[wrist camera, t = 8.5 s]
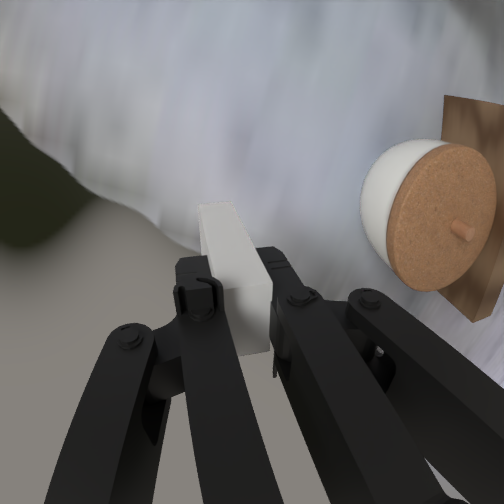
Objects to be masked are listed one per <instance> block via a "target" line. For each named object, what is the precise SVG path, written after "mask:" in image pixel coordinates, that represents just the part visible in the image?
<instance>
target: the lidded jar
mask: <svg viewBox="0 0 504 504" xmlns="http://www.w3.org/2000/svg"><path fill="white" fill-rule="evenodd" d="M496 203H497V193H496V183H495V179H494V175H493V172H492V170H491V167H490V165H489V164H488V162H487V161H486V159H485V158H484V157H483V156H482V154H481V153H479V152H478V151H476V150H475V149H473V148H470V147H467V146H464V145H461V144H452V143H449V142H445V141H441V140H434V139H413V140H408V141H404V142H402V143H399V144H397V145H394V146H392V147H391V148H389V149H388V150H386V151H385V152H384V153H383V154H382V155H380V156H379V157H378V158H377V160H376V161H375V162H374V163H373V164H372V166H371V168H370V169H369V171H368V173H367V175H366V177H365V179H364V182H363V185H362V189H361V195H360V216H361V221H362V225H363V228H364V231H365V233H366V236H367V238H368V240H369V242H370V243H371V245H372V246H373V248H374V250H375V251H376V253H377V254H378V255H379V256H380V258H381V259H382V260H383V261H384V262H385V263H386V264H387V265H388V266H389V267H390V268H391V269H392V270H393V271H394V272H395V274H396V275H397V276H398V277H399V278H400V279H401V281H402V282H404V283H405V284H406V285H407V286H409V287H410V288H412V289H414V290H417V291H424V292H428V291H436V290H438V289H441V288H444V287H446V286H448V285H450V284H451V283H453V282H454V281H456V280H457V279H458V278H459V277H461V276H462V275H463V274H464V273H465V272H466V271H467V270H468V269H469V268H470V266H471V265H472V264H473V263H474V261H475V260H476V259H477V257H478V256H479V254H480V252H481V251H482V249H483V247H484V245H485V243H486V241H487V239H488V236H489V234H490V231H491V228H492V225H493V222H494V217H495V211H496Z"/></svg>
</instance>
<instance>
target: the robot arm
mask: <svg viewBox="0 0 504 504" xmlns="http://www.w3.org/2000/svg"><path fill="white" fill-rule="evenodd" d="M198 214H199V227H200V240H201V252H202V256H193V257H185V258H180V259H179V261H178V263H177V264H176V266H175V270H176V285H175V287H174V290H173V295H174V300H175V306H176V312H177V315H176V317H175V318H174V319H173V320H172V321H171V322H170V323H168V324H167V325H165V326H163V327H161V328H158V329H155V330H153V331H152V330H151V329H150V328H149V327H147V326H146V325H143V324H139V323H130V324H125V325H122V326H119V327H118V328H116V329H115V330H113V331H112V332H111V334H110V335H109V336H108V338H107V340H106V342H105V344H104V346H103V349H102V351H101V353H100V355H99V357H98V360H97V362H96V364H95V366H94V369H93V371H92V373H91V376H90V378H89V381H88V383H87V385H86V387H85V390H84V392H83V395H82V397H81V400H80V402H79V405H78V407H77V410H76V412H75V415H74V417H73V420H72V422H71V425H70V428H69V430H68V433H67V436H66V438H65V441H64V444H63V447H62V449H61V452H60V455H59V458H58V461H57V464H56V467H55V470H54V473H53V476H52V479H51V482H50V486H49V489H48V492H47V495H46V499H45V502H44V504H152V502H153V495H154V489H155V483H156V478H157V472H158V466H159V461H160V455H161V450H162V444H163V439H164V434H165V429H166V423H167V419H168V414H169V409H170V404H171V397H173V396H175V395H178V394H180V393H183V392H185V395H186V402H187V409H188V416H189V424H190V430H191V436H192V442H193V449H194V455H195V461H196V466H197V472H198V478H199V483H200V488H201V493H202V498H203V503H204V504H284V502H283V499H282V497H281V494H280V491H279V488H278V485H277V482H276V479H275V476H274V473H273V470H272V467H271V464H270V461H269V458H268V455H267V451H266V449H265V445H264V442H263V439H262V436H261V433H260V430H259V427H258V423H257V420H256V417H255V413H254V410H253V407H252V404H251V400H250V397H249V394H248V391H247V387H246V384H245V380H244V377H243V373H242V370H241V367H240V363H239V360H238V356H244V355H250V354H256V353H261V352H267V351H270V340H271V343H272V345H273V348H274V361H273V378H275V377H276V376H277V371H278V374H279V376H280V379H281V381H282V384H283V386H284V389H285V392H286V394H287V397H288V399H289V402H290V404H291V407H292V409H293V412H294V415H295V417H296V419H297V422H298V425H299V427H300V429H301V432H302V435H303V437H304V440H305V442H306V445H307V447H308V450H309V452H310V454H311V457H312V459H313V462H314V464H315V467H316V469H317V471H318V474H319V477H320V479H321V482H322V484H323V486H324V488H325V491H326V493H327V496H328V498H329V501H330V503H331V504H468V503H467V502H465V501H463V500H459V499H454V498H450V497H449V496H447V495H446V494H445V492H444V491H443V489H442V487H441V486H440V484H439V482H438V481H437V479H436V478H435V475H434V474H433V472H432V470H431V469H430V467H429V465H428V463H427V462H426V460H427V461H428V462H429V463H430V464H431V465H432V466H433V467H434V468H435V469H436V470H437V471H438V472H439V473H440V474H441V475H442V476H443V477H444V478H445V479H446V480H447V481H448V482H449V483H450V484H451V485H452V486H453V487H454V488H455V489H456V490H457V491H458V492H459V493H460V494H461V495H462V496H463V497H464V498H465V499H466V500H467V501H468V502H469V503H470V504H504V389H503V388H502V387H501V386H499V385H498V384H497V383H496V382H495V381H493V380H492V379H491V378H490V377H489V376H487V375H486V374H485V373H484V372H483V371H481V370H480V369H479V368H478V367H477V366H475V365H474V364H473V363H472V362H470V361H469V360H468V359H467V358H465V357H464V356H463V355H462V354H461V353H459V352H458V351H457V350H456V349H454V348H453V347H452V346H451V345H449V344H448V343H447V342H446V341H444V340H443V339H442V338H440V337H439V336H438V335H437V334H435V333H434V332H433V331H432V330H430V329H429V328H428V327H426V326H425V325H424V324H423V323H421V322H420V321H419V320H417V319H416V318H415V317H414V316H412V315H411V314H410V313H408V312H407V311H406V310H404V309H403V308H402V307H400V306H399V305H398V304H397V303H395V302H394V301H393V300H391V299H390V298H389V297H387V296H386V295H385V294H383V293H381V292H379V291H377V290H374V289H369V288H361V289H357V290H354V291H353V292H351V293H350V295H349V297H348V302H346V301H329V300H324V299H323V298H322V296H321V295H320V294H319V293H318V292H317V291H316V290H314V289H312V288H310V287H306V286H304V285H303V283H302V282H301V280H300V279H299V277H298V276H297V274H296V272H295V271H294V269H293V268H292V267H291V265H290V263H289V262H288V261H287V258H286V257H285V255H284V254H283V252H281V251H280V250H278V249H277V248H275V247H273V246H272V247H263V248H255V247H254V245H253V243H252V241H251V239H250V237H249V235H248V233H247V231H246V230H245V228H244V226H243V224H242V222H241V220H240V218H239V216H238V214H237V212H236V210H235V208H234V206H233V204H232V202H231V201H228V202H217V203H207V204H198ZM378 346H379V347H380V348H381V349H382V350H383V351H384V354H381V353H379V352H378V351H377V347H378ZM425 459H426V460H425Z"/></svg>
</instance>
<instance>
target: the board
mask: <svg viewBox="0 0 504 504" xmlns="http://www.w3.org/2000/svg"><path fill="white" fill-rule="evenodd" d="M441 141H445V142H449V143H452V144H461V145H464V146H467V147H470V148H473V149H475V150H476V151H478V152H479V153H481V154H482V156H483V157H484V158H485V159H486V161H487V162H488V164H489V165H490V167H491V170H492V172H493V175H494V179H495V183H496V193H497V203H496V211H495V217H494V222H493V225H492V228H491V231H490V234H489V236H488V239H487V241H486V243H485V245H484V247H483V249H482V251H481V252H480V254H479V256H478V257H477V259H476V260H475V261H474V263H473V264H472V265H471V266H470V268H469V269H468V270H467V271H466V272H465V273H464V274H463V275H462V276H461V277H459V278H458V279H457V280H456V281H454V282H453V283H451V284H450V285H448V286H446V287H444V288H441V289H438V290H437V291H438V292H439V293H440V294H441V295H443V296H444V297H445V298H446V299H447V300H448V301H449V302H450V303H451V304H453V305H454V306H455V307H456V308H457V309H458V310H459V311H460V312H461V313H462V314H463V315H464V316H466V317H467V318H468V319H469V320H470V321H471V322H472V323H474V322H476V321H479V320H481V319H484V318H486V317H488V316H490V315H491V314H492V311H493V309H494V307H495V304H496V302H497V299H498V297H499V294H500V292H501V289H502V287H503V284H504V105H500V104H495V103H490V102H485V101H479V100H474V99H468V98H461V97H455V96H448V95H444V111H443V124H442V135H441Z"/></svg>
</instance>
